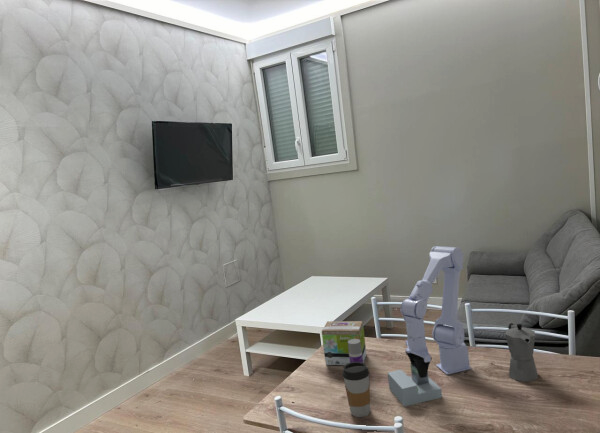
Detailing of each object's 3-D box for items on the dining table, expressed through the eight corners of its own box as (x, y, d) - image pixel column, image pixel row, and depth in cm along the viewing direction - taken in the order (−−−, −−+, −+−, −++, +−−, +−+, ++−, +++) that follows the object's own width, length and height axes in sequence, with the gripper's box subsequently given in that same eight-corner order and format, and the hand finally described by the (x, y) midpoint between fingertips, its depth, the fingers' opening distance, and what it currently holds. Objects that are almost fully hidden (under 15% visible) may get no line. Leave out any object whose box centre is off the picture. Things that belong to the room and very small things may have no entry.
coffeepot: (547, 383, 147) (543, 330, 144) (516, 386, 147) (512, 333, 145) (526, 362, 162) (522, 313, 160) (499, 364, 163) (495, 316, 160)
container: (365, 384, 162) (360, 343, 160) (351, 384, 163) (346, 344, 161) (365, 377, 166) (361, 338, 165) (353, 378, 167) (348, 338, 166)
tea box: (325, 366, 180) (320, 330, 178) (331, 354, 189) (326, 320, 188) (363, 366, 175) (358, 329, 174) (367, 354, 185) (362, 319, 183)
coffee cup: (345, 407, 149) (339, 363, 147) (370, 402, 150) (365, 359, 148) (350, 421, 141) (344, 375, 139) (376, 416, 141) (371, 370, 139)
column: (423, 377, 155) (421, 360, 154) (429, 382, 151) (427, 365, 150) (412, 379, 154) (410, 363, 154) (417, 385, 150) (415, 368, 150)
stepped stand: (424, 380, 159) (422, 364, 158) (442, 397, 147) (440, 379, 146) (389, 389, 156) (387, 372, 156) (404, 406, 145) (402, 388, 144)
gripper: (395, 329, 157) (400, 367, 159) (414, 345, 143) (419, 386, 145) (414, 325, 159) (418, 363, 160) (435, 340, 144) (439, 381, 146)
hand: (420, 373), depth 153 cm, fingers closed on column, 4 cm apart
